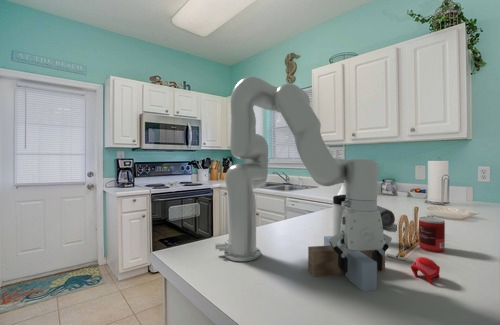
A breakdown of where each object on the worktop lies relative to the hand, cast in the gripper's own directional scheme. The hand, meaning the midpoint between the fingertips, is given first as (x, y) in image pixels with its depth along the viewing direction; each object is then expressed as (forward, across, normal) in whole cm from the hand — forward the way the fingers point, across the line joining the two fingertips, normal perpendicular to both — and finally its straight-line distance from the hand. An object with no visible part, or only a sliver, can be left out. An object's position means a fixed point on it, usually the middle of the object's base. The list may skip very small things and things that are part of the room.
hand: (360, 269), depth 66 cm
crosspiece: (+4, 0, +7) cm, 8 cm away
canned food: (+4, +40, +19) cm, 45 cm away
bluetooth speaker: (+4, +41, +55) cm, 69 cm away
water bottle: (+4, +16, +36) cm, 40 cm away
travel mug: (+4, +8, +24) cm, 26 cm away
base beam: (+4, 0, +7) cm, 8 cm away
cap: (+4, +19, -1) cm, 20 cm away
